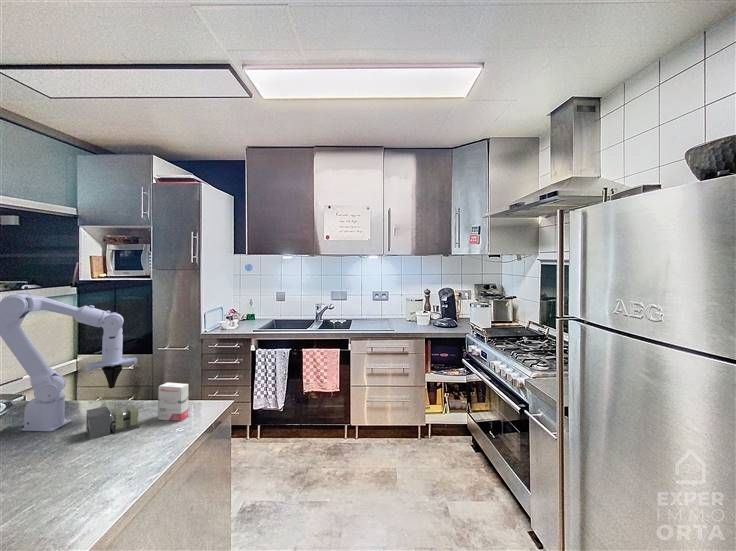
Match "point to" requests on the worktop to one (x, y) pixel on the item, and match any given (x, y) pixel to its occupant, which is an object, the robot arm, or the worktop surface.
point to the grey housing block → (98, 422)
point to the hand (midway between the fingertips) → (111, 387)
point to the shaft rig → (123, 420)
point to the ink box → (173, 401)
